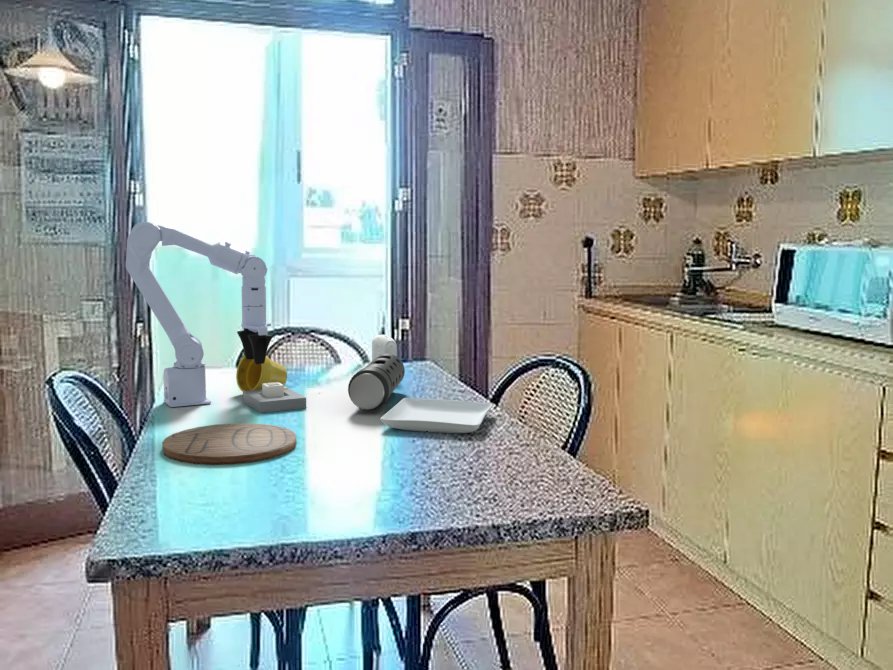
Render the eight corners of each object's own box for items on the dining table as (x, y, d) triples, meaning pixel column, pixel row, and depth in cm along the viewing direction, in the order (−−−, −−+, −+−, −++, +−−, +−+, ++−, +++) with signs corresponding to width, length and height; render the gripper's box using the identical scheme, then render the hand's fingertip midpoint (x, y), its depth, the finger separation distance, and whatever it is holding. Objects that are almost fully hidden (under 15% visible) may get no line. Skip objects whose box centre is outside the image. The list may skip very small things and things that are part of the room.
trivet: (158, 471, 144) (157, 460, 144) (166, 435, 168) (166, 426, 168) (302, 462, 151) (302, 451, 150) (291, 429, 175) (290, 420, 174)
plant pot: (297, 379, 208) (267, 373, 201) (274, 406, 212) (243, 401, 205) (283, 350, 214) (253, 343, 207) (261, 376, 218) (231, 370, 210)
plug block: (267, 407, 194) (267, 385, 193) (262, 404, 197) (262, 382, 197) (284, 405, 196) (283, 384, 195) (278, 402, 199) (278, 381, 198)
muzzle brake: (405, 392, 214) (406, 353, 212) (387, 417, 186) (387, 371, 185) (369, 391, 214) (369, 351, 213) (345, 415, 187) (345, 370, 185)
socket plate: (260, 412, 188) (260, 401, 187) (242, 401, 200) (242, 390, 200) (306, 408, 193) (306, 396, 193) (286, 397, 205) (286, 386, 205)
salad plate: (479, 439, 168) (479, 423, 167) (378, 433, 172) (378, 417, 171) (493, 416, 188) (494, 402, 188) (403, 411, 193) (403, 397, 192)
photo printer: (398, 381, 228) (398, 336, 227) (384, 382, 226) (384, 337, 225) (383, 375, 237) (383, 332, 236) (369, 376, 235) (369, 333, 234)
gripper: (279, 307, 195) (280, 364, 197) (261, 302, 208) (262, 355, 209) (250, 309, 192) (251, 366, 193) (233, 303, 204) (234, 357, 206)
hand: (255, 361), depth 201 cm, fingers open, 7 cm apart
